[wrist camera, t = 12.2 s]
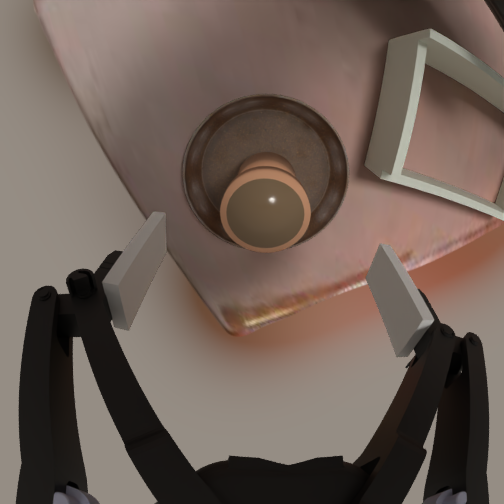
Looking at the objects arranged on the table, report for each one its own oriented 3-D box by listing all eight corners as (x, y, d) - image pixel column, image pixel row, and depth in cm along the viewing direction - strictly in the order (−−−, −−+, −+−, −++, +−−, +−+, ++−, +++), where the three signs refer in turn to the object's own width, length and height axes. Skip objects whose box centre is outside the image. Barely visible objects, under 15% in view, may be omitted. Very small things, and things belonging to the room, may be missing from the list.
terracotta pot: (239, 140, 26) (227, 163, 19) (308, 156, 26) (322, 184, 20) (227, 202, 30) (214, 243, 23) (290, 216, 30) (296, 260, 24)
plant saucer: (315, 74, 24) (321, 72, 22) (356, 215, 33) (363, 226, 30) (165, 130, 28) (155, 135, 26) (225, 255, 37) (222, 269, 34)
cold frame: (388, 39, 21) (430, 28, 13) (520, 120, 22) (560, 136, 14) (364, 165, 29) (396, 192, 22) (495, 210, 30) (529, 239, 23)
